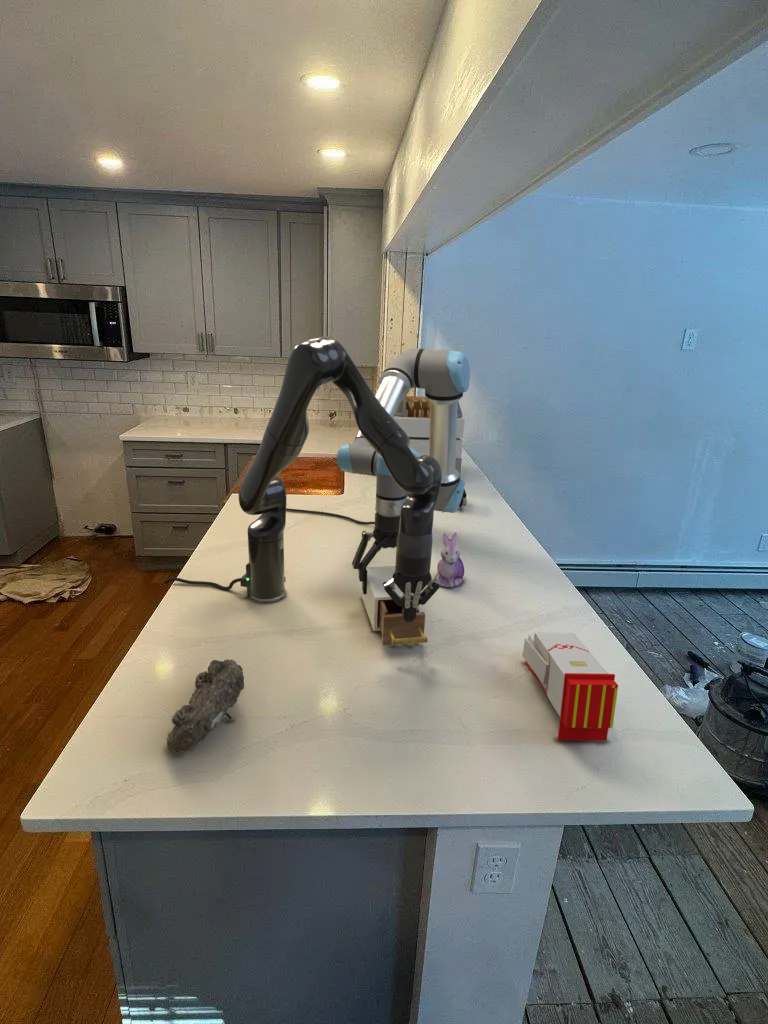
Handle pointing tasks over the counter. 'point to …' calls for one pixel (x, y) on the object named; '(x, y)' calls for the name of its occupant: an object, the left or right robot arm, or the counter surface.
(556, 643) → the toy
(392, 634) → the drawer
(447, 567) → the figurine
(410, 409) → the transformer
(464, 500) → the figurine character
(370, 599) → the cabinet
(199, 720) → the fossil
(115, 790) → the counter surface
